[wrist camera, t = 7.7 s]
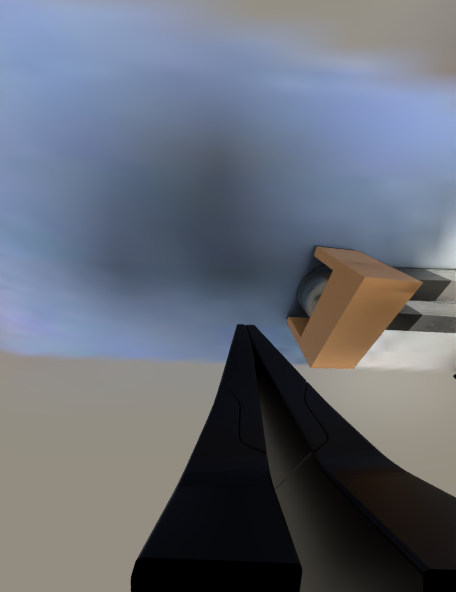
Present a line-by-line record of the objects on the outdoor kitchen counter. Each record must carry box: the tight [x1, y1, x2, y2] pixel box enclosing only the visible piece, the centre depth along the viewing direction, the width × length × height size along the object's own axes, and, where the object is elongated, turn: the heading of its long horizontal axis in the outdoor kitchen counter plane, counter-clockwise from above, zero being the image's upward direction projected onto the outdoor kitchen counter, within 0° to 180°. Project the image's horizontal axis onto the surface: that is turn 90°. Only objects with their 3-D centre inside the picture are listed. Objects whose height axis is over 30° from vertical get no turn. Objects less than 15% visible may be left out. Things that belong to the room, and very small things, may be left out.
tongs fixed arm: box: [297, 265, 456, 333], centre depth 14 cm, size 20×4×2 cm, turn 83°
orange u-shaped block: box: [287, 247, 423, 369], centre depth 12 cm, size 3×6×4 cm, turn 172°
